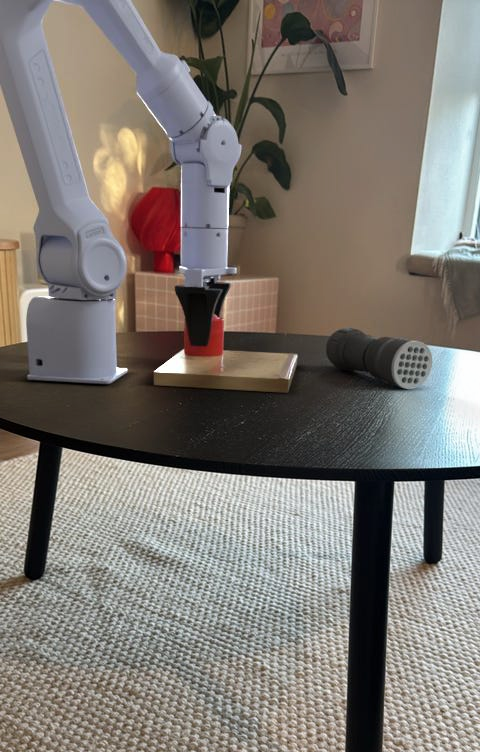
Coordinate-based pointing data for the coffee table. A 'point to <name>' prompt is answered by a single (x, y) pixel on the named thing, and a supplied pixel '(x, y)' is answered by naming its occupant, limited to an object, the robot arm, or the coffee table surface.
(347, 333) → the flashlight
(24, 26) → the robot arm
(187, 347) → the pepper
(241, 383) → the board
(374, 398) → the coffee table surface
